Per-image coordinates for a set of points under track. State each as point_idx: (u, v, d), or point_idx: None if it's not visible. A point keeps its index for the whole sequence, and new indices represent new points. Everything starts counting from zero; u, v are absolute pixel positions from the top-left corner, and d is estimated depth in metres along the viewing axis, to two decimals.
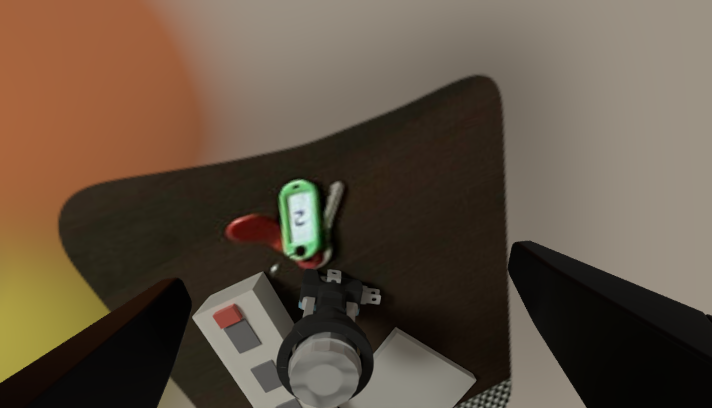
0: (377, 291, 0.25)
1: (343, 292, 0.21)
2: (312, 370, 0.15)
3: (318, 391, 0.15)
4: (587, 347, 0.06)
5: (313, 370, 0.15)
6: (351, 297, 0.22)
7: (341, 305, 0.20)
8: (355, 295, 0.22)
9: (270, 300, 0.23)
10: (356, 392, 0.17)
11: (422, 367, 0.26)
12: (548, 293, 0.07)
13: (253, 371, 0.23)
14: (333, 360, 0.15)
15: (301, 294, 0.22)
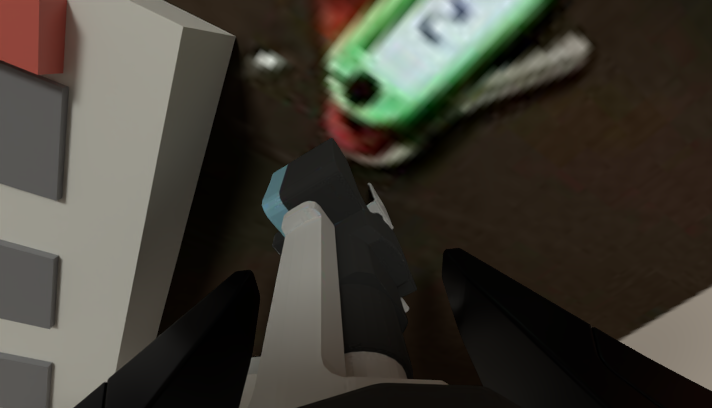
0: None
1: (407, 273, 0.07)
2: None
3: None
4: (494, 358, 0.06)
5: None
6: None
7: (404, 312, 0.06)
8: (400, 288, 0.08)
9: (194, 118, 0.07)
10: None
11: None
12: (466, 302, 0.07)
13: None
14: None
15: (302, 185, 0.07)
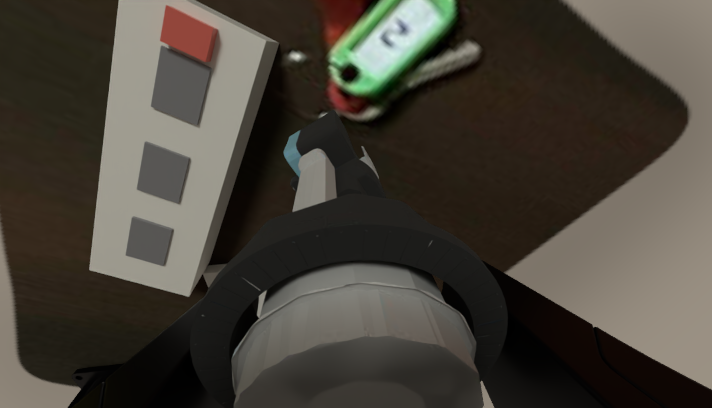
0: None
1: None
2: (370, 385, 0.04)
3: None
4: None
5: (372, 387, 0.04)
6: None
7: None
8: None
9: (259, 87, 0.13)
10: None
11: None
12: None
13: (147, 148, 0.13)
14: (450, 400, 0.04)
15: (312, 139, 0.10)
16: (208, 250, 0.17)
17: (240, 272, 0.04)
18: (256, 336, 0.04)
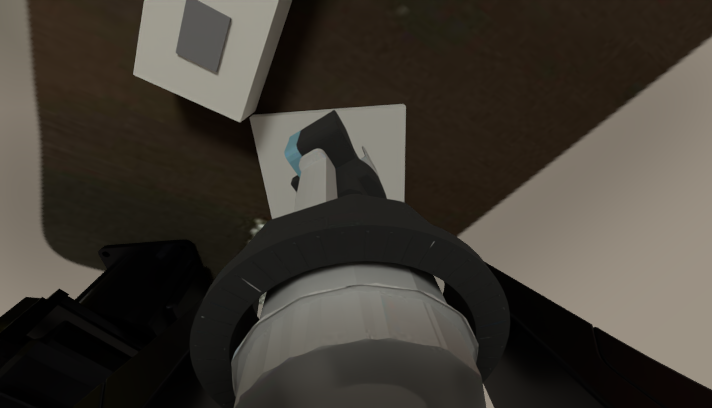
0: None
1: None
2: (371, 388, 0.04)
3: None
4: None
5: (373, 389, 0.04)
6: None
7: None
8: None
9: None
10: None
11: (380, 172, 0.19)
12: None
13: None
14: (450, 402, 0.04)
15: (313, 139, 0.10)
16: (261, 75, 0.15)
17: (240, 273, 0.04)
18: (256, 338, 0.04)
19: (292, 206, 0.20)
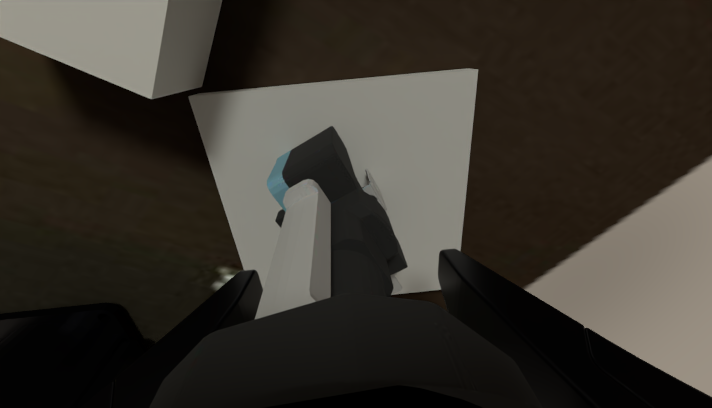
0: None
1: (396, 248, 0.08)
2: None
3: None
4: None
5: None
6: None
7: (391, 279, 0.07)
8: (391, 264, 0.09)
9: None
10: None
11: (425, 190, 0.11)
12: (461, 302, 0.07)
13: None
14: None
15: (303, 165, 0.08)
16: (198, 4, 0.07)
17: None
18: None
19: None
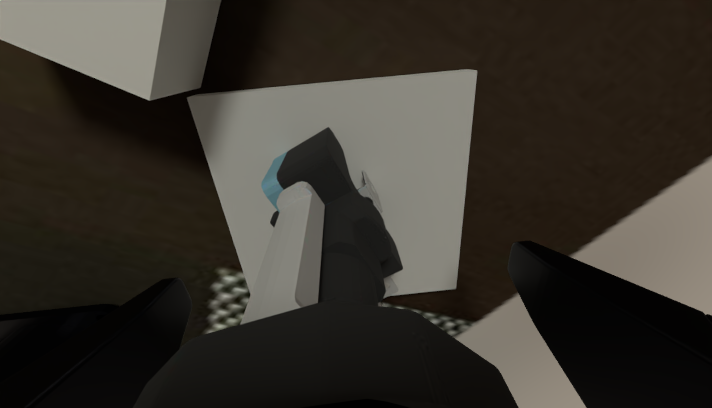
0: None
1: (390, 250, 0.08)
2: None
3: None
4: (587, 347, 0.06)
5: None
6: None
7: (384, 282, 0.07)
8: (387, 266, 0.09)
9: None
10: None
11: (424, 191, 0.11)
12: (548, 293, 0.07)
13: None
14: None
15: (297, 167, 0.08)
16: (196, 5, 0.07)
17: None
18: None
19: None
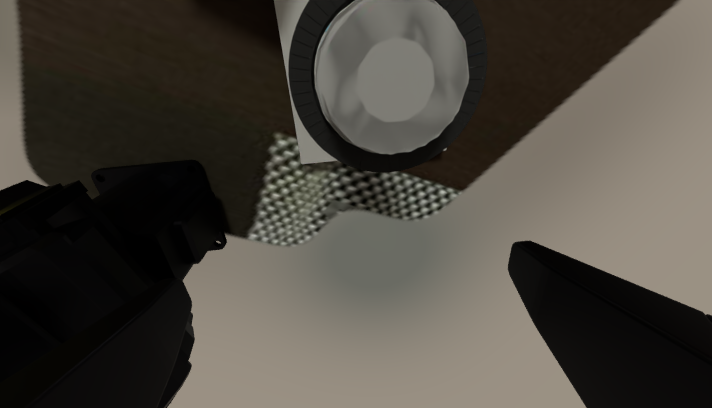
0: None
1: None
2: (402, 42, 0.07)
3: (364, 91, 0.07)
4: (587, 347, 0.06)
5: (403, 44, 0.07)
6: None
7: None
8: None
9: None
10: (372, 167, 0.09)
11: None
12: (548, 293, 0.07)
13: None
14: (448, 66, 0.07)
15: None
16: None
17: None
18: (333, 35, 0.07)
19: None
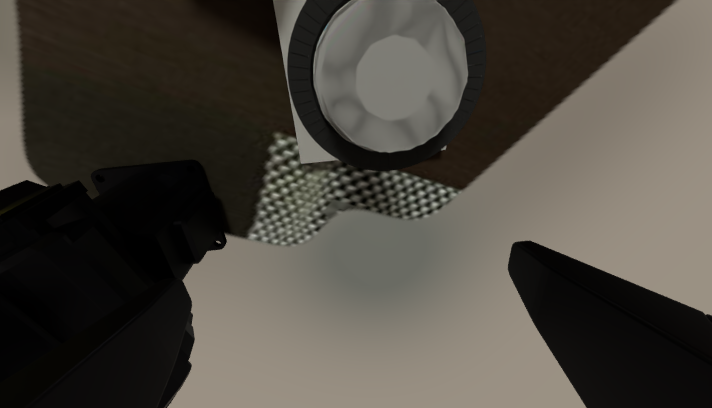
0: None
1: None
2: (401, 40, 0.07)
3: (363, 89, 0.07)
4: (587, 347, 0.06)
5: (402, 42, 0.07)
6: None
7: None
8: None
9: None
10: (371, 165, 0.09)
11: None
12: (548, 293, 0.07)
13: None
14: (447, 65, 0.07)
15: None
16: None
17: None
18: None
19: None
